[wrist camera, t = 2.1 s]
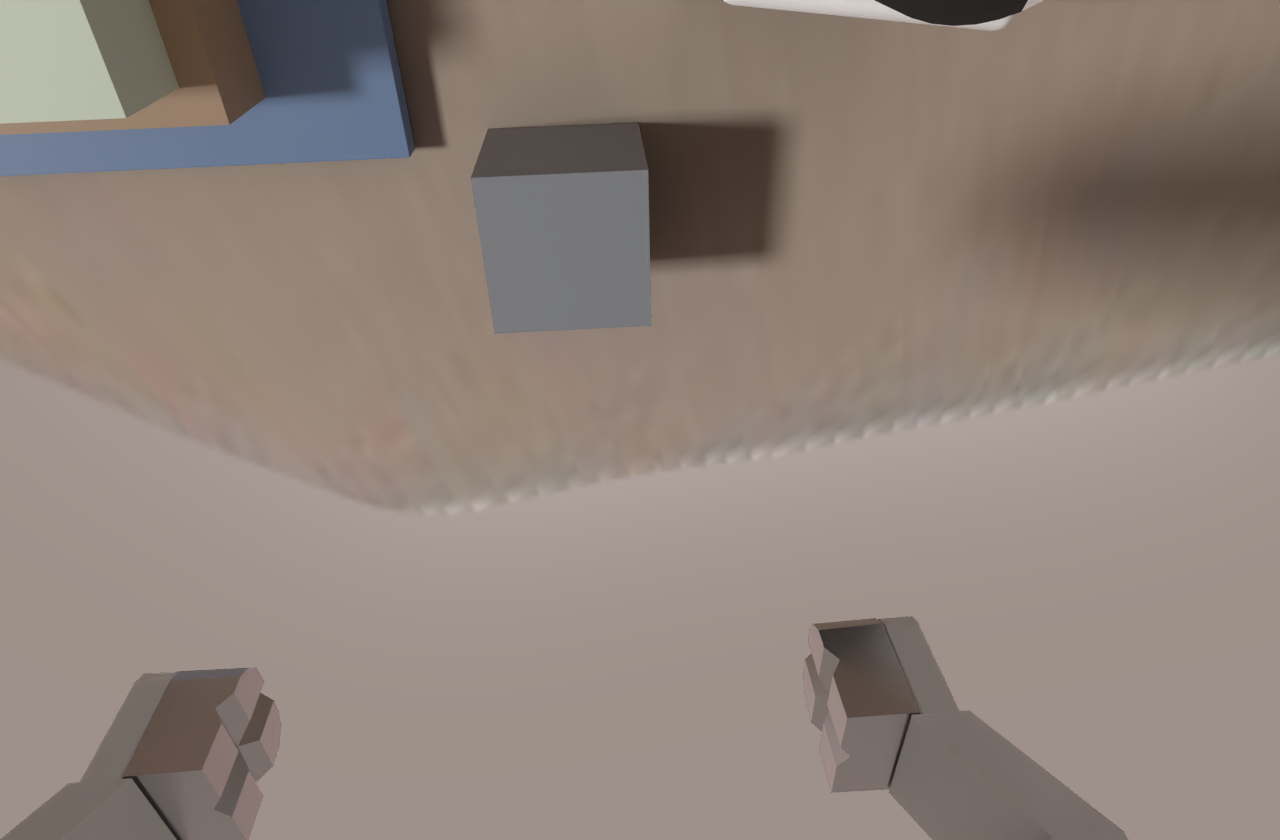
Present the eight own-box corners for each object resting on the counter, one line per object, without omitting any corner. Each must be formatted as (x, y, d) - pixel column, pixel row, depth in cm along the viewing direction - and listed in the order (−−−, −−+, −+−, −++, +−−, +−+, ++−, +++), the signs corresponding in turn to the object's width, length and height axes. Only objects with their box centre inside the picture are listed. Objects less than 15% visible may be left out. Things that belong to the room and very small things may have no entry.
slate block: (638, 121, 26) (648, 169, 22) (641, 260, 29) (651, 325, 25) (488, 128, 26) (470, 177, 22) (507, 266, 29) (494, 333, 25)
